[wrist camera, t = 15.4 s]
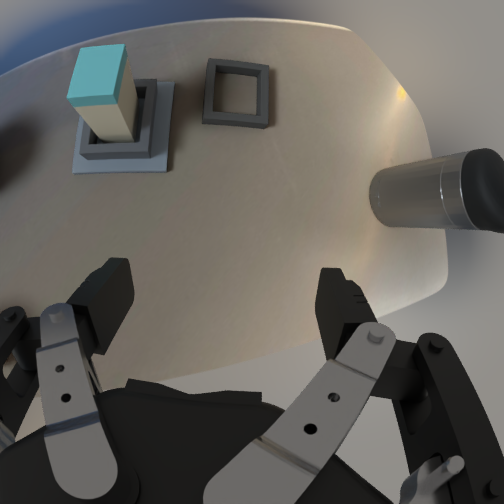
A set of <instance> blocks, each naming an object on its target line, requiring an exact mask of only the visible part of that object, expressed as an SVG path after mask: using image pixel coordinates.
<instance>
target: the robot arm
mask: <svg viewBox="0 0 504 504" xmlns="http://www.w3.org/2000/svg"><path fill="white" fill-rule="evenodd" d="M370 203H371V207H372V210H373V212H374V214H375V216H376V217H377V219H378V220H379V221H380V222H381V223H383V224H384V225H386V226H389V227H408V228H437V229H467V230H488V231H493V232H497V233H504V161H503V159H502V158H501V157H500V155H499V154H498V153H496V152H495V151H493V150H491V149H487V148H483V149H477V150H472V151H467V152H462V153H457V154H452V155H447V156H442V157H437V158H432V159H428V160H423V161H418V162H414V163H409V164H404V165H400V166H395V167H391V168H387V169H383V170H381V171H379V172H378V173H377V174H376V175H375V176H374V178H373V180H372V182H371V186H370ZM133 301H134V286H133V281H132V275H131V269H130V264H129V261H128V259H127V258H112V257H111V258H109V259H108V261H107V262H106V263H105V264H104V265H103V266H102V267H101V268H99V269H97V270H95V271H94V272H92V273H91V274H90V275H89V276H88V277H87V278H86V279H85V282H83V283H82V284H81V285H80V287H78V288H77V290H76V291H75V292H74V293H73V294H72V296H71V297H70V298H69V299H68V300H67V302H66V303H56V304H53V305H51V306H49V307H47V308H46V309H45V310H44V311H43V312H42V313H41V315H40V317H31V318H27V316H26V313H25V311H24V309H23V308H22V307H19V306H14V307H10V308H8V309H6V310H4V311H3V312H2V313H1V314H0V504H393V502H392V501H390V500H389V499H388V498H387V497H386V496H385V495H383V494H382V493H381V492H380V491H378V490H377V489H376V488H375V487H373V486H372V485H371V484H370V483H368V482H367V481H366V480H365V479H364V478H362V477H361V476H360V475H359V474H358V473H356V472H355V471H354V470H353V469H352V468H350V467H349V466H348V465H347V464H346V463H345V462H344V461H343V460H341V459H340V458H339V457H338V456H337V455H336V454H335V453H336V452H337V450H338V449H339V447H340V446H341V444H342V442H343V441H344V439H345V438H346V436H347V434H348V433H349V431H350V430H351V428H352V426H353V425H354V423H355V422H356V420H357V418H358V416H359V415H360V413H361V411H362V409H363V408H364V406H365V404H366V403H367V401H368V399H369V397H370V396H375V397H381V398H388V399H392V403H393V407H394V411H395V414H396V418H397V422H398V426H399V429H400V434H401V438H402V442H403V446H404V450H405V455H406V459H407V464H408V468H409V473H410V476H408V477H407V478H406V479H405V481H404V482H403V484H402V486H401V490H400V502H399V504H504V457H503V454H502V451H501V449H500V446H499V443H498V441H497V438H496V436H495V433H494V431H493V428H492V426H491V424H490V421H489V419H488V416H487V414H486V412H485V410H484V407H483V406H482V403H481V401H480V399H479V397H478V395H477V393H476V390H475V389H474V386H473V384H472V382H471V381H470V378H469V376H468V375H467V373H466V371H465V369H464V367H463V365H462V363H461V361H460V359H459V357H458V356H457V354H456V352H455V350H454V348H453V347H452V345H451V344H450V342H449V341H448V340H447V339H446V338H444V337H443V336H441V335H439V334H436V333H425V334H422V335H421V336H420V337H419V339H418V341H417V343H411V342H406V341H401V340H397V339H396V336H395V334H394V332H393V331H392V330H391V329H390V328H389V327H387V326H385V325H383V324H381V323H378V322H377V320H376V318H375V315H374V313H373V311H372V309H371V307H370V305H369V303H367V302H368V301H367V299H366V297H364V294H363V292H362V290H361V288H360V287H359V286H358V285H357V284H356V283H355V282H353V281H352V280H346V279H345V276H344V274H343V272H342V270H341V269H340V268H322V269H321V272H320V278H319V284H318V289H317V295H316V301H315V314H316V318H317V322H318V326H319V330H320V334H321V339H322V343H323V347H324V351H325V355H326V360H327V362H326V363H325V364H324V366H323V367H322V368H321V369H320V371H319V372H318V373H317V374H316V376H315V377H314V378H313V379H312V380H311V382H310V383H309V384H308V385H307V386H306V388H305V389H304V390H303V391H302V392H301V394H300V395H299V396H298V397H297V398H296V400H295V401H294V402H293V403H292V404H291V405H290V406H289V407H288V409H287V410H286V411H285V410H284V409H282V408H279V407H277V406H275V405H272V404H269V403H265V402H262V392H247V391H219V392H211V393H202V394H187V393H184V392H181V391H178V390H176V389H173V388H170V387H167V386H164V385H162V384H159V383H153V382H147V381H141V380H135V379H129V378H128V381H127V383H126V386H125V388H116V389H111V390H107V391H104V392H103V390H102V387H101V384H100V382H99V379H98V376H97V373H96V370H95V367H94V363H93V361H92V359H91V356H92V355H93V353H95V354H100V355H105V353H106V351H107V349H108V347H109V345H110V344H111V342H112V340H113V338H114V336H115V334H116V332H117V331H118V329H119V327H120V325H121V323H122V322H123V320H124V318H125V316H126V315H127V313H128V311H129V309H130V307H131V306H132V304H133ZM11 352H12V353H13V355H14V357H15V359H16V361H17V363H16V364H15V366H14V368H13V369H12V371H11V373H10V374H9V376H8V378H7V379H6V378H5V377H4V375H3V365H4V362H5V361H6V359H7V358H8V356H9V355H10V353H11ZM39 386H40V394H41V400H42V406H43V412H44V417H45V423H46V425H45V426H43V427H42V428H40V429H38V430H36V431H35V432H33V433H31V434H29V435H28V436H26V437H24V438H22V439H21V440H19V441H17V442H15V437H16V435H17V433H18V430H19V428H20V426H21V424H22V421H23V419H24V417H25V414H26V413H27V411H28V409H29V406H30V404H31V402H32V400H33V398H34V396H35V394H36V392H37V390H38V388H39Z"/></svg>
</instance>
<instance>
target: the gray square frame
mask: <svg viewBox="0 0 504 504" xmlns="http://www.w3.org/2000/svg"><path fill="white" fill-rule="evenodd" d="M215 72H220V73H231V74H240V75H248V76H256V77H257V115H248V114H238V113H226V112H213V111H212V110H213V95H214V82H215ZM268 98H269V65H262V64H256V63H249V62H241V61H232V60H223V59H211V58H209V59H208V63H207V70H206V81H205V92H204V104H203V117H202V124H214V125H228V126H240V127H251V128H260V129H264V128H265V127H266V126H267V125H268Z"/></svg>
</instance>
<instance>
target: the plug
mask: <svg viewBox="0 0 504 504" xmlns="http://www.w3.org/2000/svg"><path fill="white" fill-rule="evenodd" d="M67 99H68V100H69V102H70V103H71V104H72V105H73V107H74V108H75V109H76V110H77V112H78V113H79V114H80V115H81V117H82V118H83V119H84V120H85V122H86V123H87V124H88V125H89V126H90V128H91V129H92V130H93V131H94V132H95V134H96V135H97V136H98V137H99V138H100V140H101V141H102V142H103V143H104V144H106V143H135V138H136V130H137V122H138V115H139V108H140V104H139V100H138V97H137V93H136V89H135V85H134V81H133V77H132V72H131V68H130V64H129V60H128V55H127V51H126V46H125V44H117V45H104V46H94V47H86V48H81V49H80V52H79V56H78V59H77V62H76V65H75V69H74V72H73V76H72V79H71V83H70V87H69V91H68V95H67Z"/></svg>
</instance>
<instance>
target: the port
mask: <svg viewBox="0 0 504 504" xmlns="http://www.w3.org/2000/svg"><path fill="white" fill-rule="evenodd" d="M133 81H134V85H135V89H136V93H137V97H138V100H139V104H140V108H139V115H138V122H137V130H136V138H135V143H106V144H104V143H103V142H102V141H101V140H100V138H99V137H98V136H97V135H96V134H95V132H94V131H93V130H92V129H91V128H90V126H89V125H88V124H87V123H86V122H85V120H84V119H83V118H82V117H81V115H80V117H79V123H78V129H77V136H76V143H75V150H74V159H73V169H72V173H73V174H97V173H167V158H168V144H169V132H170V121H171V111H172V102H173V94H174V86H175V82H157V79H135V80H133Z"/></svg>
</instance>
